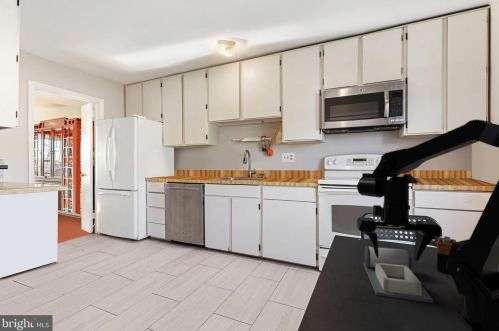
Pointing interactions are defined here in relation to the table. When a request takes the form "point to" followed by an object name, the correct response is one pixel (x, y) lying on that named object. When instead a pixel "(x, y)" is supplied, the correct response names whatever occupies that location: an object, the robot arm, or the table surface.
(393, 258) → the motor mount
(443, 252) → the battery
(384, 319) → the table surface
